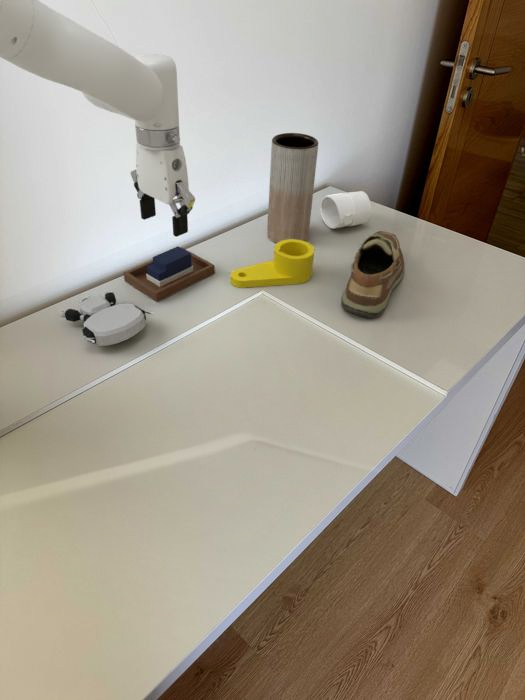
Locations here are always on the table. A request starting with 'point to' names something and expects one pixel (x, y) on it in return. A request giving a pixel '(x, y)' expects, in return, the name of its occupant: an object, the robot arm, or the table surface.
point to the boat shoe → (374, 275)
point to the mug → (345, 209)
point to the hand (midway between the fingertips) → (164, 225)
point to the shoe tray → (157, 293)
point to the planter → (291, 186)
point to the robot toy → (107, 319)
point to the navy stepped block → (169, 266)
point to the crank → (279, 267)
